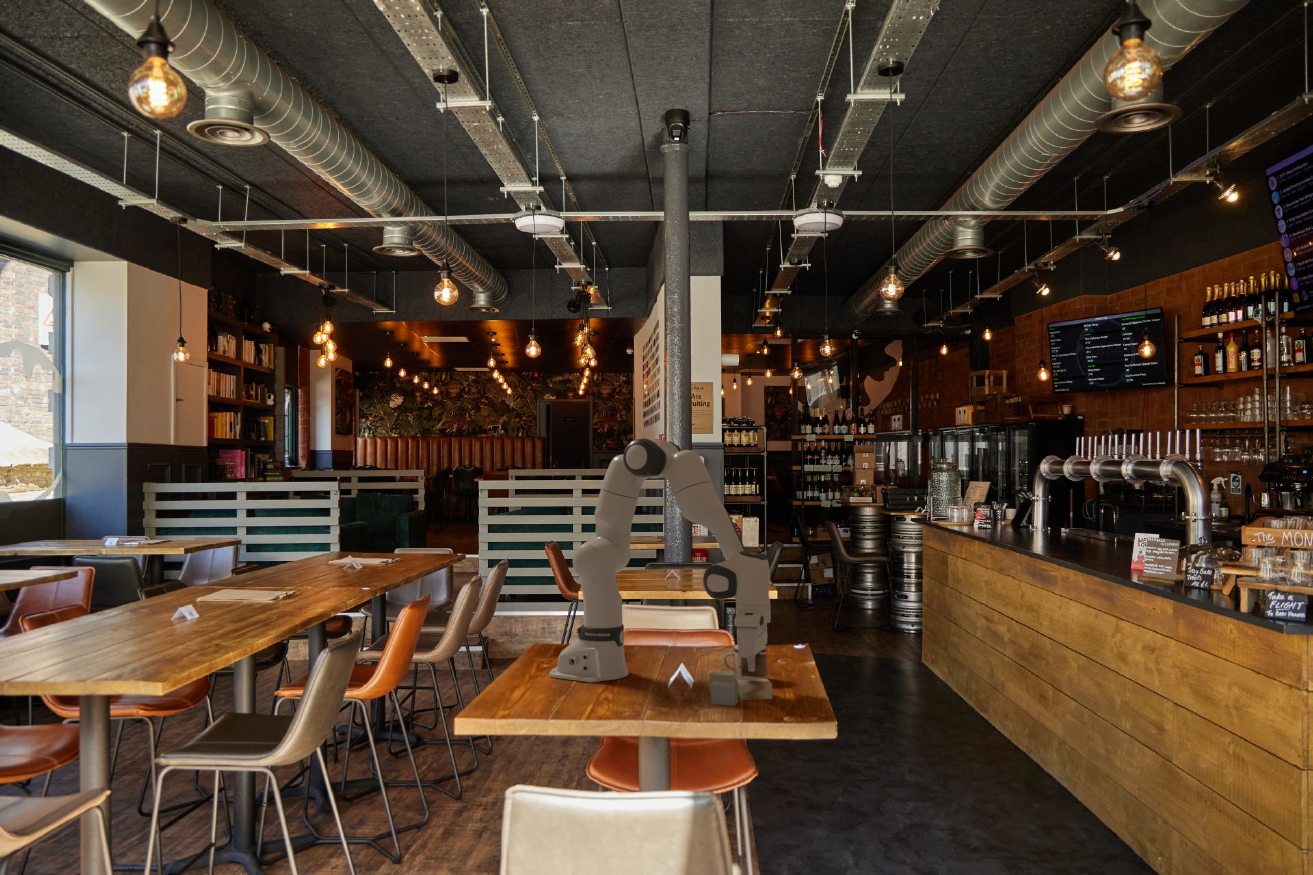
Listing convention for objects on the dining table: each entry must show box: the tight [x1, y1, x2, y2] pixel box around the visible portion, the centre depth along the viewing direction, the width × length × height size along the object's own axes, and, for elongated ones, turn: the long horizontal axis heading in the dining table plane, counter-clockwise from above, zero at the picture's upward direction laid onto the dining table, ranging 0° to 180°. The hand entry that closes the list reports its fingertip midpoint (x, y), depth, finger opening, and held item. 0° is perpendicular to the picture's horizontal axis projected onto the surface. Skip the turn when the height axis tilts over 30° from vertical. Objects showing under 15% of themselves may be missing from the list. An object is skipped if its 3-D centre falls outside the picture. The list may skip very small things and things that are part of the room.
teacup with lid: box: [723, 643, 768, 681], centre depth 239 cm, size 12×9×12 cm
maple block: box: [736, 678, 773, 701], centre depth 221 cm, size 8×5×4 cm, turn 97°
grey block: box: [710, 681, 739, 707], centre depth 215 cm, size 6×4×5 cm, turn 72°
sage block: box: [708, 671, 736, 694], centre depth 225 cm, size 6×4×5 cm, turn 73°
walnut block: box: [741, 654, 768, 677], centre depth 221 cm, size 6×4×5 cm, turn 72°
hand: (754, 668), depth 221 cm, fingers closed on walnut block, 3 cm apart
